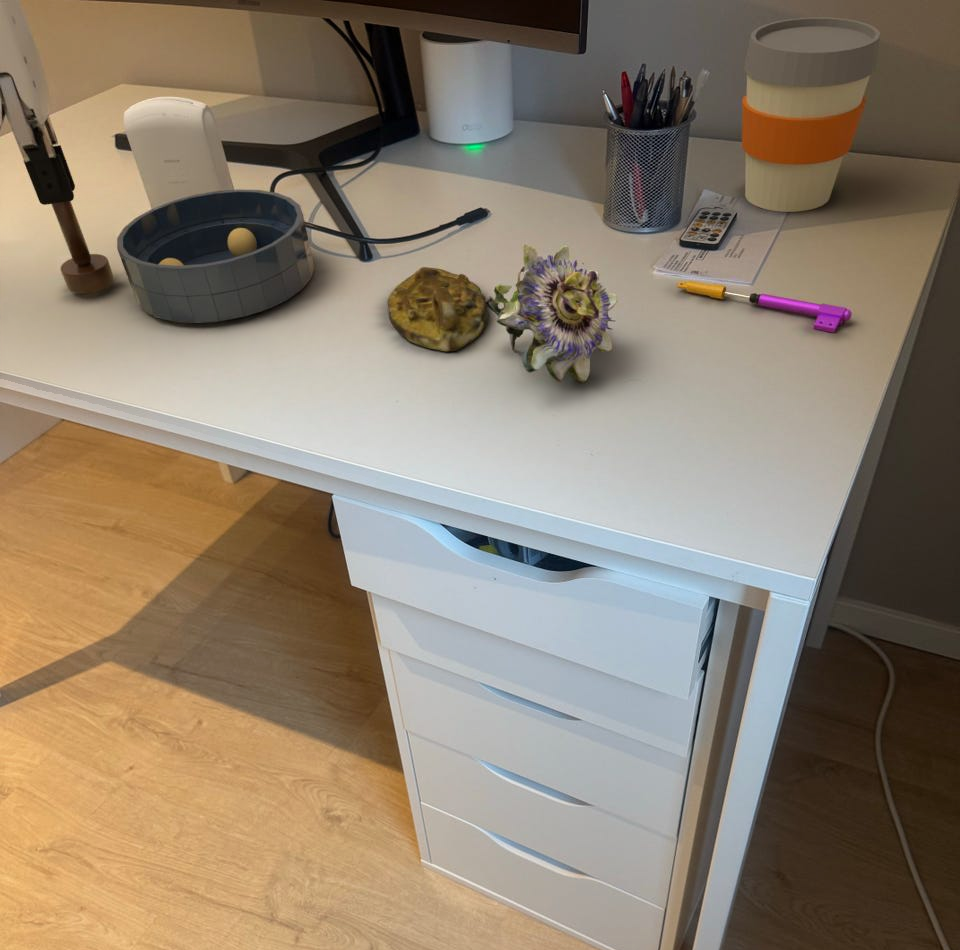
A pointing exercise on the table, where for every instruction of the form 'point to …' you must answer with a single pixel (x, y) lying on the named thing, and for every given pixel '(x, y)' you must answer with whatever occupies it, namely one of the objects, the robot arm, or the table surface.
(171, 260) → the dough ball
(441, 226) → the table surface
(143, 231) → the bowl
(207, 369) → the table surface
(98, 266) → the wooden dough tamper
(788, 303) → the piston cylinder
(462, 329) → the lumpy olive cookie
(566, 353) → the passion flower
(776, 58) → the reusable coffee cup
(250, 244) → the dough ball
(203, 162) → the photo printer
